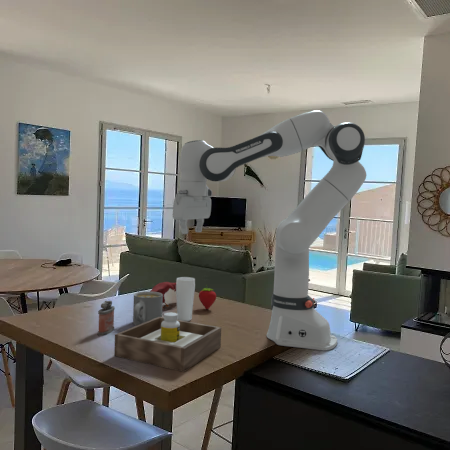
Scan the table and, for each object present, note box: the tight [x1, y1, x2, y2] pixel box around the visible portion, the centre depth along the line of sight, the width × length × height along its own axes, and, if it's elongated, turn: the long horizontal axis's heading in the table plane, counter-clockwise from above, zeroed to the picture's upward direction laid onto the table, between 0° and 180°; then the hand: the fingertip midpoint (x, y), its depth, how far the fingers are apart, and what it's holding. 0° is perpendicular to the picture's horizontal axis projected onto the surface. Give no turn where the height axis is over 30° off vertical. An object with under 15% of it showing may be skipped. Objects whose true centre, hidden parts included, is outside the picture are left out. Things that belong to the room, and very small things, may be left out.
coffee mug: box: [132, 291, 164, 326], centre depth 156 cm, size 13×10×10 cm
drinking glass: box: [175, 276, 196, 322], centre depth 163 cm, size 7×7×15 cm
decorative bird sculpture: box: [149, 281, 176, 310], centre depth 179 cm, size 28×9×15 cm
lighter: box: [97, 300, 116, 336], centre depth 146 cm, size 8×3×10 cm, turn 168°
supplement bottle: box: [161, 311, 180, 343], centre depth 130 cm, size 5×5×10 cm
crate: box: [113, 316, 222, 372], centre depth 130 cm, size 22×22×6 cm
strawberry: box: [198, 284, 217, 310], centre depth 180 cm, size 6×8×10 cm
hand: (191, 233), depth 149 cm, fingers open, 8 cm apart
